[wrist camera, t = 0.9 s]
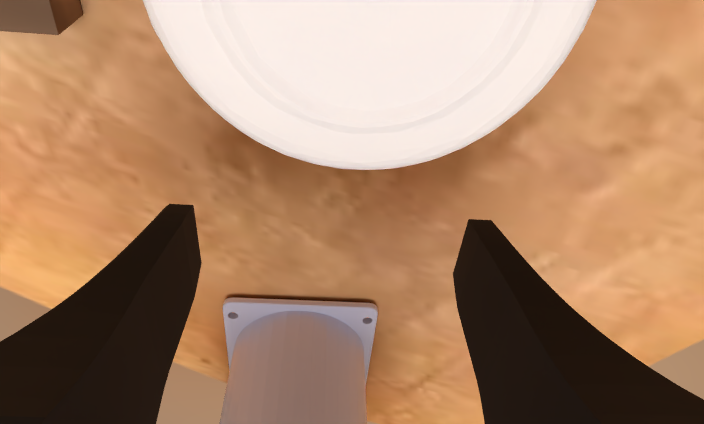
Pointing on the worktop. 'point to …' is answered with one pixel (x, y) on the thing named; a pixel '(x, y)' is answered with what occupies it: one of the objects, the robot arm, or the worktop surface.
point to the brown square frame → (38, 15)
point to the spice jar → (367, 70)
